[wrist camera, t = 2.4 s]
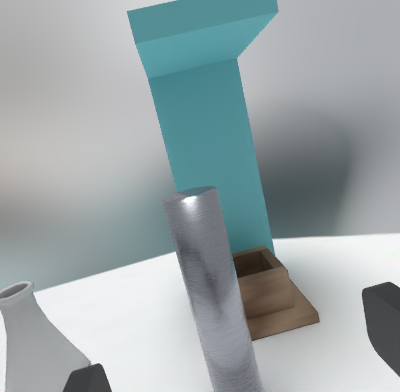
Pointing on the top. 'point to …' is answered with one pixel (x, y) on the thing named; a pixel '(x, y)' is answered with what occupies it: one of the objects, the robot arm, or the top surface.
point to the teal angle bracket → (207, 102)
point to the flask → (35, 345)
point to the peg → (213, 288)
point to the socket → (270, 294)
